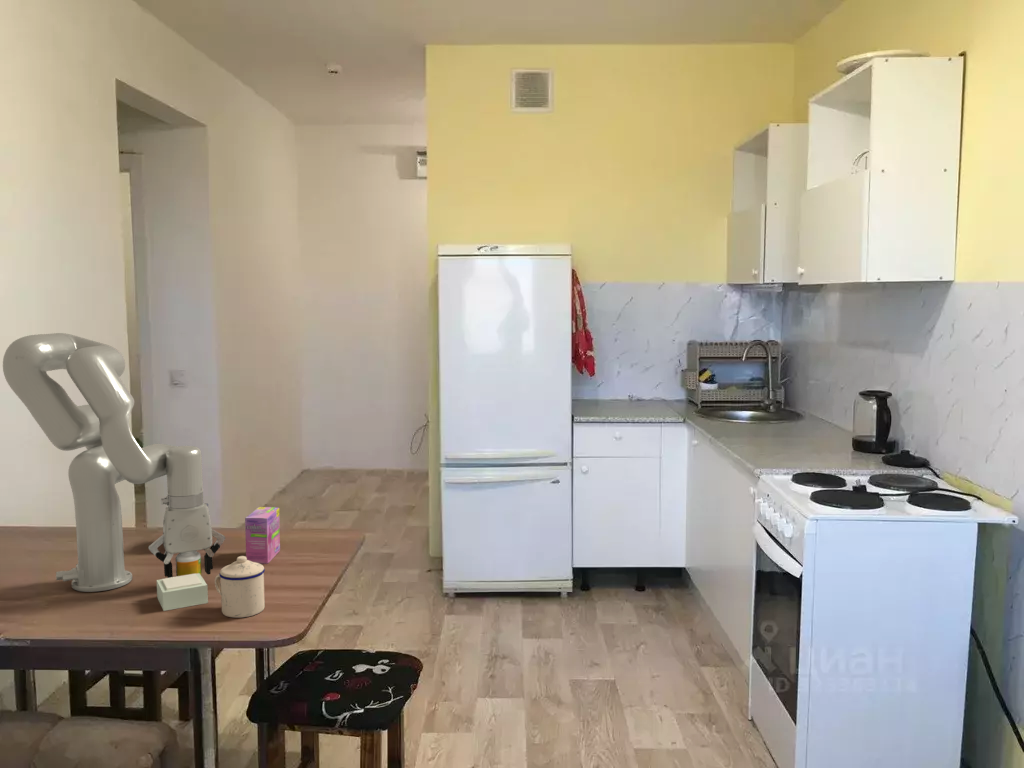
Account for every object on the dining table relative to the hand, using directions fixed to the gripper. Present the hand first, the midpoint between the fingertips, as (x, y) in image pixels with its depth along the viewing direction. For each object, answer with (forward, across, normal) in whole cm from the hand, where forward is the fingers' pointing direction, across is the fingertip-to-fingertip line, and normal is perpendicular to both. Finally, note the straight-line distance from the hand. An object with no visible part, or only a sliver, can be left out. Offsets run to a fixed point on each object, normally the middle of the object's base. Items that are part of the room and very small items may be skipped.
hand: (189, 575), depth 190 cm
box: (+3, +20, +12) cm, 23 cm away
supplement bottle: (+3, 0, 0) cm, 3 cm away
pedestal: (+2, -3, -9) cm, 10 cm away
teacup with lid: (+3, +6, -21) cm, 22 cm away
